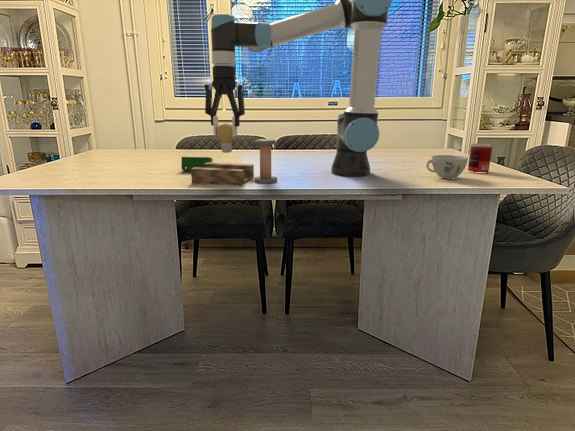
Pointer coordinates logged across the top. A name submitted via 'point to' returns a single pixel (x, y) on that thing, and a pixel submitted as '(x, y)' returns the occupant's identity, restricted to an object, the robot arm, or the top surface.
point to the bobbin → (265, 162)
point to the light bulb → (225, 137)
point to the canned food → (480, 157)
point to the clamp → (194, 162)
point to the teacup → (448, 165)
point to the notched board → (223, 174)
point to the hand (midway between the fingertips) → (225, 135)
